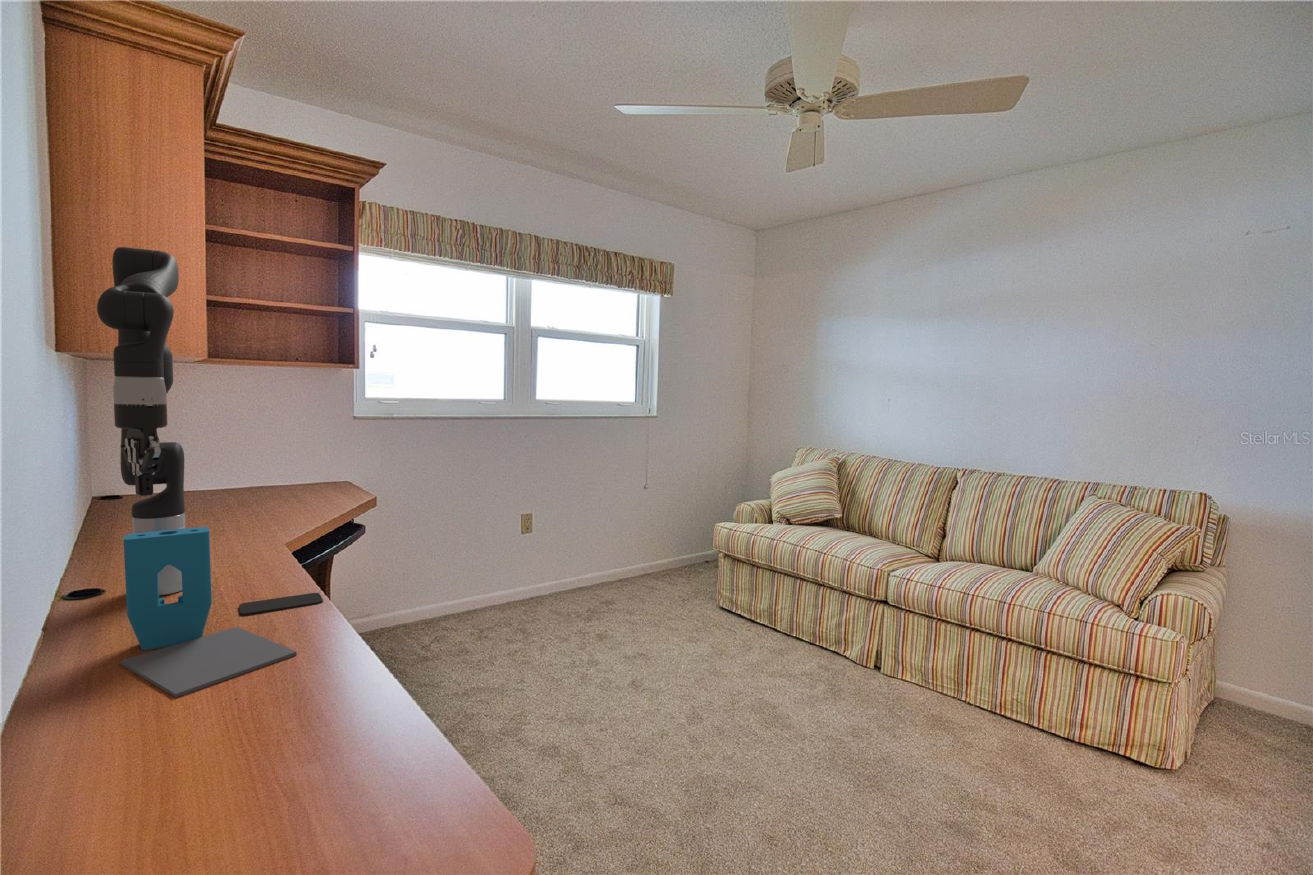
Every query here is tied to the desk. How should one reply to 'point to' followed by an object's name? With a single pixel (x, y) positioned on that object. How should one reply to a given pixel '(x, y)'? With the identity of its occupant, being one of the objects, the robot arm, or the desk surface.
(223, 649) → the mat
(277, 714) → the desk surface
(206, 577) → the block
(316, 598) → the phone
